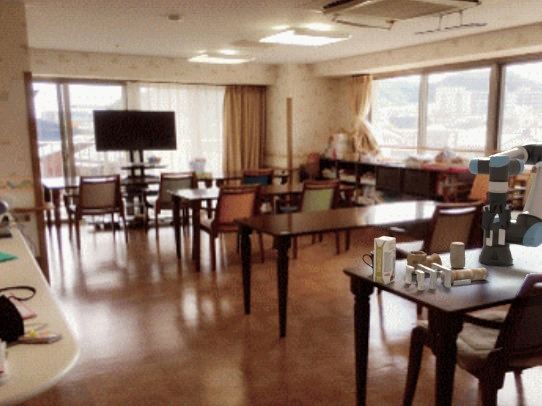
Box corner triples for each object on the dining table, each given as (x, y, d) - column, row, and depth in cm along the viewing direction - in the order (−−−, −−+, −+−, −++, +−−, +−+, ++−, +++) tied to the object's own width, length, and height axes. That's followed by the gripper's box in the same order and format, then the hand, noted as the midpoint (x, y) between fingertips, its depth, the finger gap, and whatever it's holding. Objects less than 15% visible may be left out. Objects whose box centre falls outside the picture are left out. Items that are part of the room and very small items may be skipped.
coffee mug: (393, 273, 223) (393, 252, 221) (383, 277, 216) (384, 255, 215) (371, 269, 230) (371, 248, 229) (361, 273, 224) (361, 251, 223)
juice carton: (397, 281, 211) (398, 237, 209) (386, 285, 206) (387, 240, 203) (382, 277, 217) (382, 235, 214) (371, 281, 211) (371, 238, 208)
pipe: (445, 274, 221) (446, 252, 220) (414, 277, 216) (415, 255, 215) (432, 269, 230) (433, 248, 228) (402, 272, 225) (403, 251, 223)
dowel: (479, 277, 215) (480, 266, 215) (487, 280, 211) (488, 269, 210) (440, 281, 210) (440, 270, 209) (447, 285, 205) (447, 273, 204)
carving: (455, 265, 236) (456, 240, 234) (468, 268, 229) (469, 243, 228) (446, 266, 233) (446, 242, 231) (458, 270, 226) (459, 245, 225)
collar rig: (455, 277, 216) (456, 261, 215) (472, 284, 205) (473, 267, 204) (405, 282, 209) (405, 265, 208) (420, 290, 198) (420, 272, 197)
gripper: (509, 189, 215) (506, 241, 218) (473, 191, 210) (471, 244, 213) (522, 191, 208) (519, 245, 211) (485, 193, 203) (482, 248, 206)
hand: (495, 244), depth 212 cm, fingers open, 6 cm apart
